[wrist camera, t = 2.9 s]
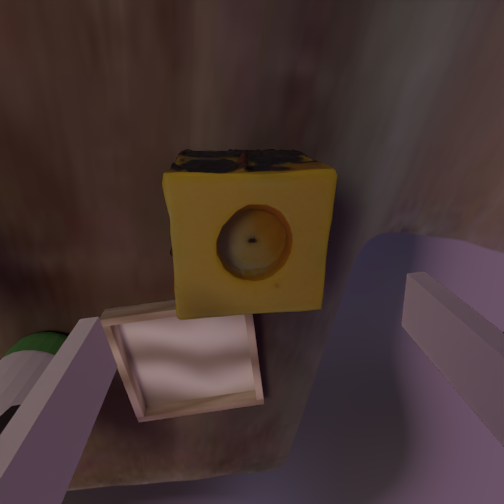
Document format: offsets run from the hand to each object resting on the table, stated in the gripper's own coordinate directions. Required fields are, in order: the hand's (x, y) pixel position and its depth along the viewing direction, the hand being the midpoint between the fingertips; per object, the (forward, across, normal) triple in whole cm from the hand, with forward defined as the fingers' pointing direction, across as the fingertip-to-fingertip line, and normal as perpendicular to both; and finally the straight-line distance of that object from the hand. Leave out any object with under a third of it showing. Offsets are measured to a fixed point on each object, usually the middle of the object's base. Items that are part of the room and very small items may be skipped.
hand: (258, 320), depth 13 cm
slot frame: (+16, -7, -16) cm, 24 cm away
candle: (+16, 0, 0) cm, 17 cm away
